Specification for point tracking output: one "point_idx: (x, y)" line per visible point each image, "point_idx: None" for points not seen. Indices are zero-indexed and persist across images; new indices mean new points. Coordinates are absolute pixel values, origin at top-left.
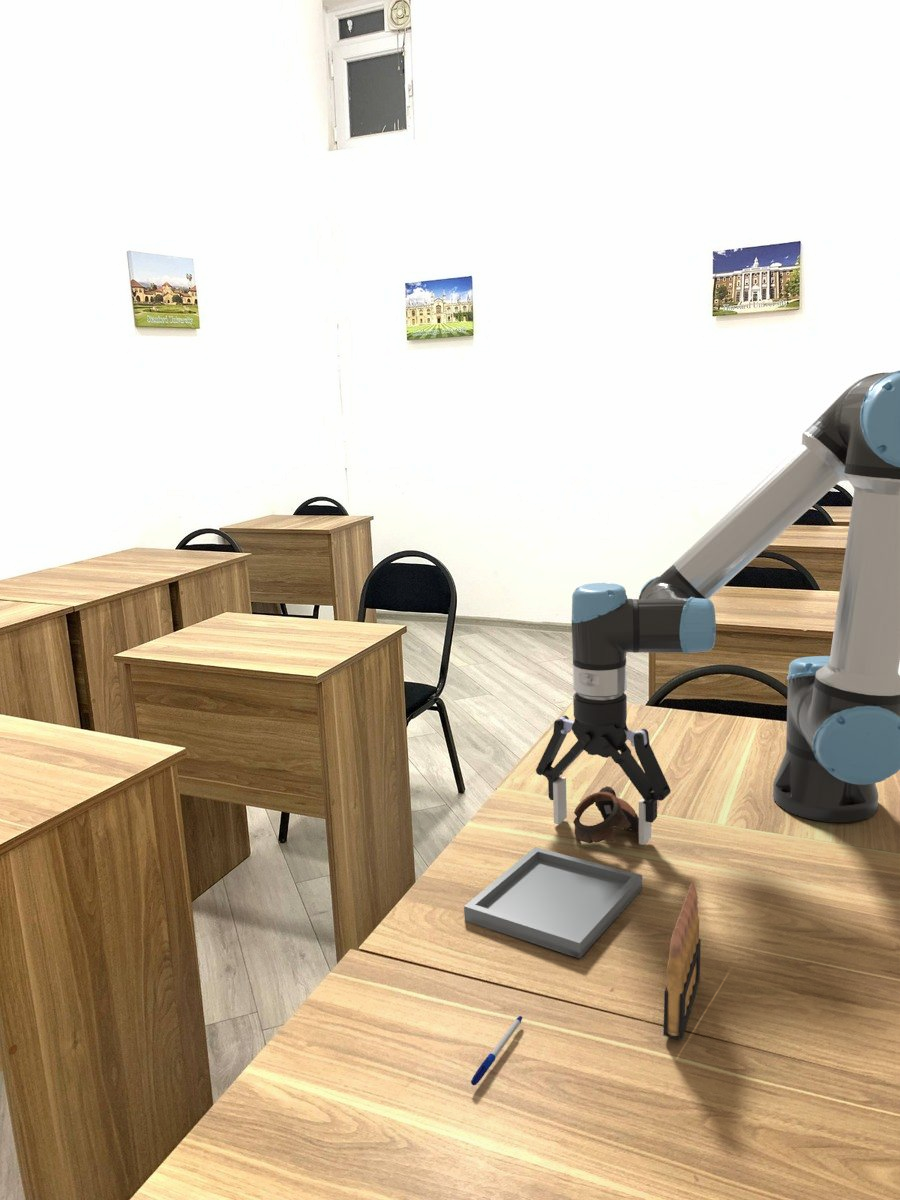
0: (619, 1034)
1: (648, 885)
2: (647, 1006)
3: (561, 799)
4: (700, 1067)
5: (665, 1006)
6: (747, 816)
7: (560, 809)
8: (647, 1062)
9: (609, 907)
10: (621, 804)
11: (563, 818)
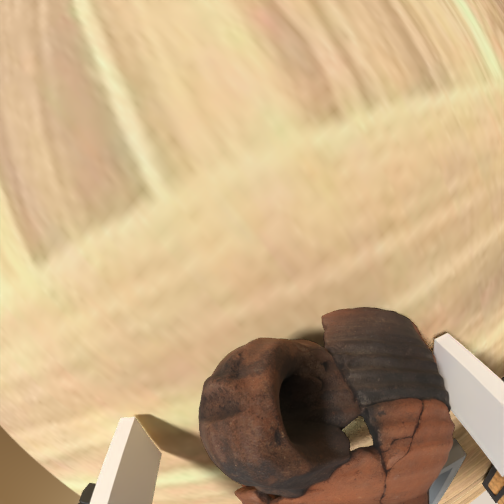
0: (456, 498)
1: (460, 423)
2: (471, 482)
3: (136, 502)
4: None
5: (491, 496)
6: (494, 14)
7: (147, 479)
8: (472, 490)
9: (437, 501)
10: (425, 487)
11: (144, 437)
